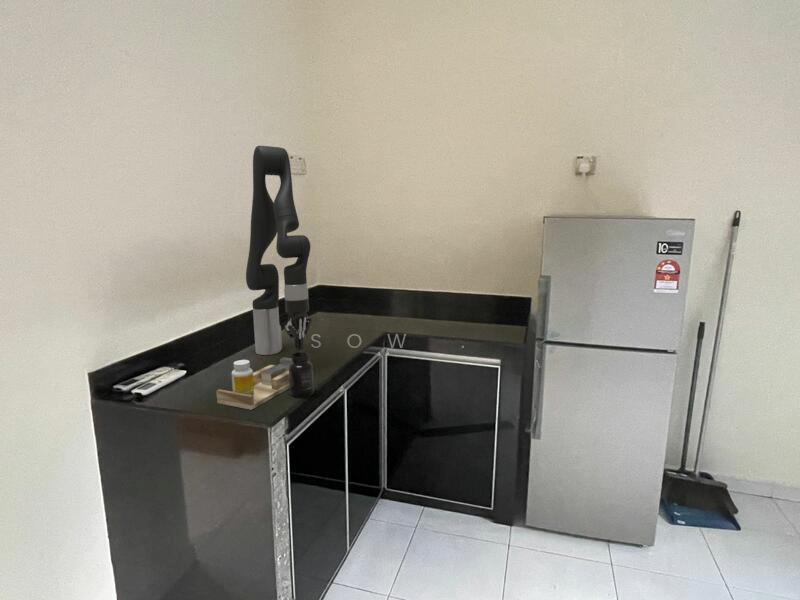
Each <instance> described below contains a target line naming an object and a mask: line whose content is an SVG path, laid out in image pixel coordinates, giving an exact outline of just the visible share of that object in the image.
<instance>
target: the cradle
mask: <svg viewBox="0 0 800 600" xmlns="http://www.w3.org/2000/svg"><path fill="white" fill-rule="evenodd" d="M274 366H276V364H269V365H266V366H265V367H263V368H259V369H258V370H256V371H253V383H254V396H253V395H248V394H242V393H237V392H233V390H232V391H231V390H224V389H221V388H220V389H217V390H216V391H215V393H216V403H217V404H220V405H224V406H230V407H236V408H241V409H245V410H250V411H253V409H256V408H257V407H259V406H261V405H263V404H264V403H266V402H268V401H270V400H271V399H273V398H275V397H277V396H278V395H280V394H282V393H284V392H285V391H287V390H290V381H289V371H287V372H285V373H283V374H281V375H279V376H277V377H275V378H273V379H271V382H272V386H270V385H264V384H262V379H261V373H262V372H264V371H266V370H268V369H270V368H272V367H274Z"/></svg>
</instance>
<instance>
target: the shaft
mask: <svg viewBox="0 0 800 600" xmlns="http://www.w3.org/2000/svg"><path fill="white" fill-rule="evenodd" d="M291 363H293V362H292V357H282V358H280V359H279V364H277V365H276V364H275V366H274V367H272V368H270V369H268V370H266V371H264V372H262V373H261V379H262V384H264V385H270V386H272V382H271V379H273V378H275V377H277V376H279V375H281V374H283V373H285V372H287V371H289V366H290V364H291Z"/></svg>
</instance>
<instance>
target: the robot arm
mask: <svg viewBox="0 0 800 600" xmlns="http://www.w3.org/2000/svg"><path fill="white" fill-rule="evenodd" d="M252 155H253V156H252V186H253V187H252V202H251V203H252V204H251V215H250V236H249V238H250V239H249V251H248V258H247V262H246V263H247V264H246V270H245V271H246V272H245V280H246V285H247V288H248V289H249V290H250V291H262V290H264V292H263V293H262V294H260V295H259V296H258V297H256V298H255V299H253V300H252V303H251V304H252V315H253V331H254V347H255V354H257V355H262V356H266V355H267V356H268V355H271V356H272V355H275V354H278V353H280V352H281V351H282V350H283V341H282V339H283V337H282V326H281V324H280V314H279V301H280V300H279V299H280V285H279V284H280V278H279V277H280V275H279V270H278V267H276V265H275V264H273V263H266V264H263V263H262V259H263V257H264V255H265V253H266V251H267V249H268V248H269V246H271V244H272V243H273V241H274V239H275V238H276V248H275V249H276V253H277V254H278V256H279V257H281V258H283V259H293V258H295V259H296V258H297V259H296V261H295V262H294V263H293V264H289V265H287V266H285V267H284V268H283V278H284V279H283V280H284V290H283V292H284V307H285V312H286V313H287V314H288V316H287V317H288V318H287V324H283V329H284V330H285V333H286V334H287V335H288V337H289V338H291V339H294V349H295V350H297V351H301V350H303V349H304V345H305V344H304V338H305V336H306V335H308V332H309V330H310V327H311V323H312V317H308V314H307V313H308V312H309V311H310V306H309V305H310V302H309V288H308V283H307V282H308V281H307V280H308V279H307V267H308V263H309V262H308V261H309V256H310V254H311V253H310V252H311V242H310V239H309V238H308V236H307V235H303V234H300V235H299V234H298V235H288V233H293V232H294V231H297V230H298V229H299V227H300V221H299V217H298V214H297V210H296V205H295V201H294V192H293V190H294V189H293V180H292V179H293V178H292V169H291V161H290V156H289V152H288V151H287V150H286V148H283V147H279V146H268V145H258V146H256V147H255V148H254V150H253V154H252ZM266 176H276V177H277V176H279V180H280V184H279V185H280V186H279V188H278V191H277V194H276V196H275V198H274V200H273V199H272V197H271V196H270V193H269V191H268V189H267V182H266Z"/></svg>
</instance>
